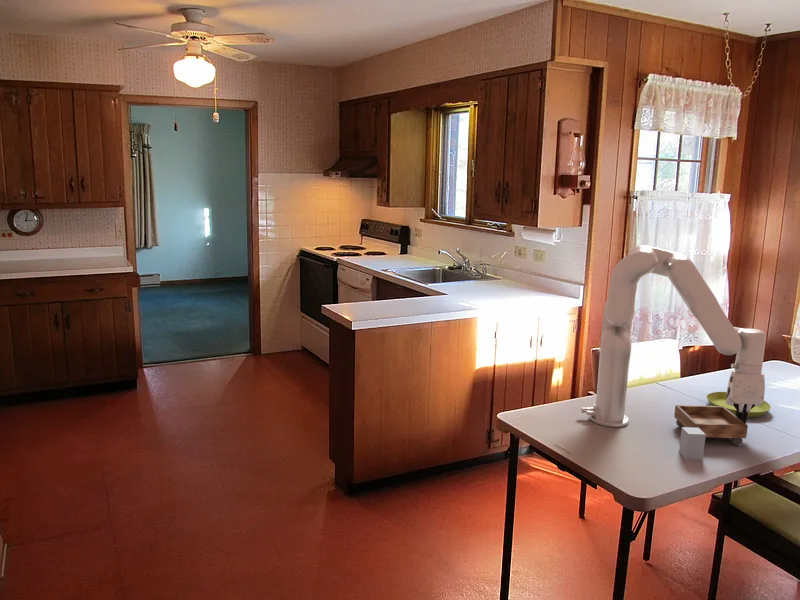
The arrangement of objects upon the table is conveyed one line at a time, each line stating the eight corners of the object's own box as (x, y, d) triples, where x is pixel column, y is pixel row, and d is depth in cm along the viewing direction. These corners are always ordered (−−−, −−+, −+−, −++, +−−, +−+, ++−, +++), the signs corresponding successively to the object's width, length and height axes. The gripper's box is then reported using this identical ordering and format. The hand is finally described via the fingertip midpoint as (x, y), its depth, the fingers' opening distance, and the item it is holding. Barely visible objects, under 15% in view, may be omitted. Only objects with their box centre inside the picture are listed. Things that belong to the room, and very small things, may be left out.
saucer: (778, 423, 221) (780, 414, 220) (713, 417, 225) (715, 408, 224) (758, 401, 241) (759, 393, 240) (699, 397, 245) (700, 389, 244)
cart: (693, 445, 201) (695, 424, 200) (673, 425, 217) (675, 405, 215) (744, 446, 201) (747, 425, 199) (721, 426, 216) (723, 406, 215)
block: (685, 459, 192) (688, 433, 190) (679, 451, 197) (681, 427, 195) (702, 459, 192) (705, 434, 190) (695, 452, 197) (698, 427, 195)
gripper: (730, 371, 200) (722, 426, 204) (778, 372, 200) (770, 427, 204) (718, 363, 208) (712, 417, 211) (765, 364, 207) (758, 418, 211)
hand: (740, 422), depth 208 cm, fingers closed
